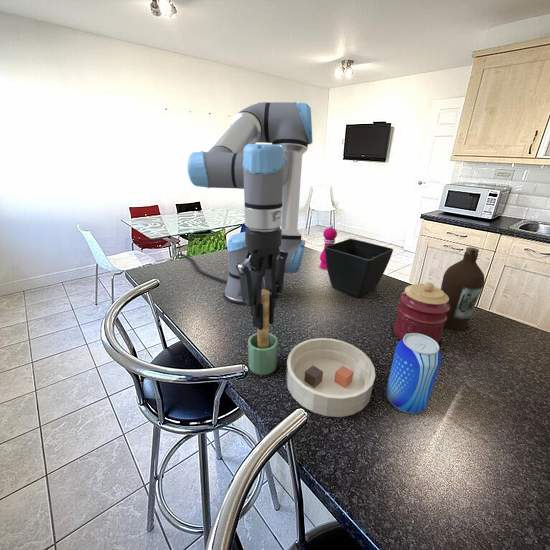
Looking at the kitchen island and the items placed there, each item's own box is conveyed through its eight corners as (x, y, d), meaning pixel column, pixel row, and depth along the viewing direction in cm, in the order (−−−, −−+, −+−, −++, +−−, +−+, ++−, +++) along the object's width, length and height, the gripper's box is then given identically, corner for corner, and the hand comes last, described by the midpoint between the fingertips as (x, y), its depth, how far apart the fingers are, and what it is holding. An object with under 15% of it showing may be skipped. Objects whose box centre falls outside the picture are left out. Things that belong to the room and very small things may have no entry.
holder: (242, 366, 74) (241, 340, 71) (263, 353, 79) (263, 328, 75) (262, 381, 69) (262, 354, 66) (282, 366, 74) (283, 341, 71)
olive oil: (424, 314, 98) (443, 244, 88) (451, 311, 101) (472, 242, 90) (448, 333, 89) (472, 256, 79) (477, 329, 91) (504, 254, 81)
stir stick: (255, 355, 73) (254, 291, 65) (263, 350, 75) (263, 288, 67) (262, 361, 71) (262, 296, 64) (271, 355, 73) (272, 292, 65)
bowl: (268, 383, 69) (269, 363, 66) (319, 346, 82) (321, 328, 79) (339, 438, 56) (343, 415, 54) (386, 384, 69) (390, 364, 67)
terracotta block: (334, 381, 69) (335, 371, 67) (341, 375, 71) (342, 365, 69) (345, 388, 67) (346, 378, 65) (352, 381, 69) (353, 371, 67)
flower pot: (346, 274, 129) (350, 237, 122) (386, 288, 116) (394, 248, 109) (319, 287, 116) (323, 246, 109) (362, 304, 104) (369, 260, 97)
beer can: (378, 388, 68) (391, 331, 62) (413, 386, 69) (429, 329, 62) (395, 418, 60) (411, 357, 54) (433, 416, 61) (454, 355, 55)
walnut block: (304, 381, 69) (304, 371, 67) (312, 374, 70) (312, 365, 69) (314, 388, 67) (315, 378, 65) (322, 381, 69) (323, 371, 67)
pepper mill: (334, 270, 132) (339, 227, 124) (318, 269, 133) (322, 226, 125) (334, 264, 138) (339, 223, 130) (319, 263, 139) (323, 222, 131)
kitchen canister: (419, 354, 79) (435, 297, 72) (383, 329, 90) (393, 277, 83) (449, 341, 85) (466, 287, 78) (411, 319, 95) (424, 270, 88)
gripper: (245, 239, 52) (247, 346, 61) (302, 224, 62) (297, 317, 72) (220, 230, 56) (226, 331, 66) (277, 217, 67) (275, 306, 76)
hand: (263, 324), depth 69 cm, fingers closed on stir stick, 3 cm apart
